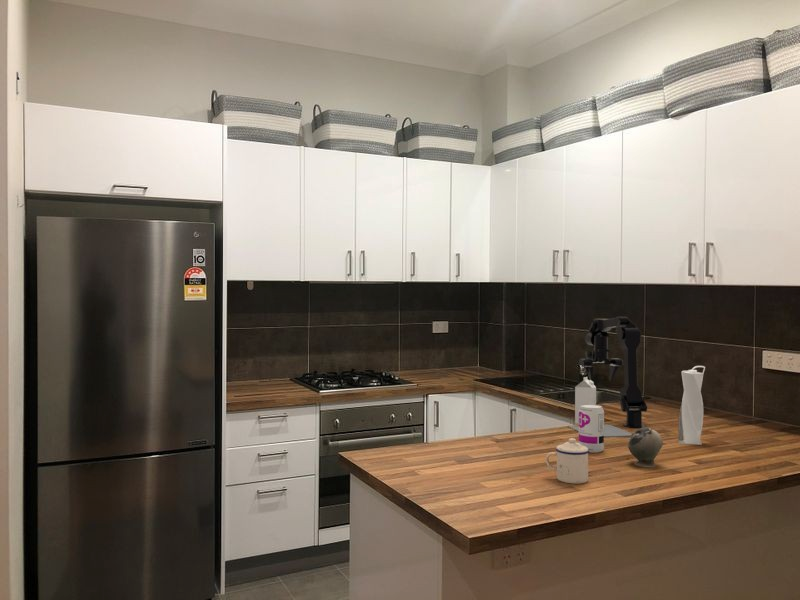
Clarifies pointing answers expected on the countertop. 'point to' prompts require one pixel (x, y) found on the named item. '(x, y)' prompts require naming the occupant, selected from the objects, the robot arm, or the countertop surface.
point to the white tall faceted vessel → (691, 408)
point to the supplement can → (591, 427)
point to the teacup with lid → (571, 462)
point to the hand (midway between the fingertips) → (600, 381)
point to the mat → (610, 431)
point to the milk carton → (584, 396)
